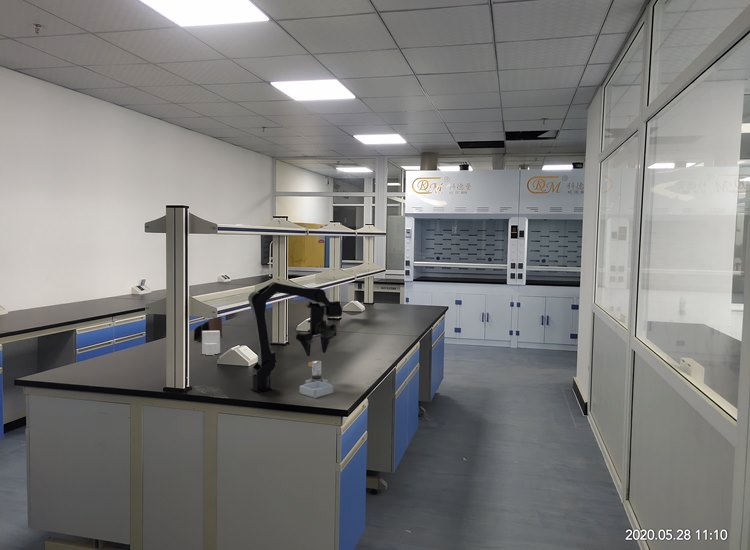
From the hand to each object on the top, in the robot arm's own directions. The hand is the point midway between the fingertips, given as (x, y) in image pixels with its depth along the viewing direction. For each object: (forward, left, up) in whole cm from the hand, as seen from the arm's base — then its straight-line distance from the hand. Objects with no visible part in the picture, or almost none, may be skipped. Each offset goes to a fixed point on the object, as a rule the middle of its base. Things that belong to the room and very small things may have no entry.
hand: (316, 354), depth 222 cm
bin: (-9, -10, -12) cm, 18 cm away
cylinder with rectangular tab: (+2, +82, -13) cm, 83 cm away
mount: (0, -1, -12) cm, 12 cm away
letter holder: (+23, +119, -13) cm, 122 cm away
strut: (0, +1, -10) cm, 10 cm away
